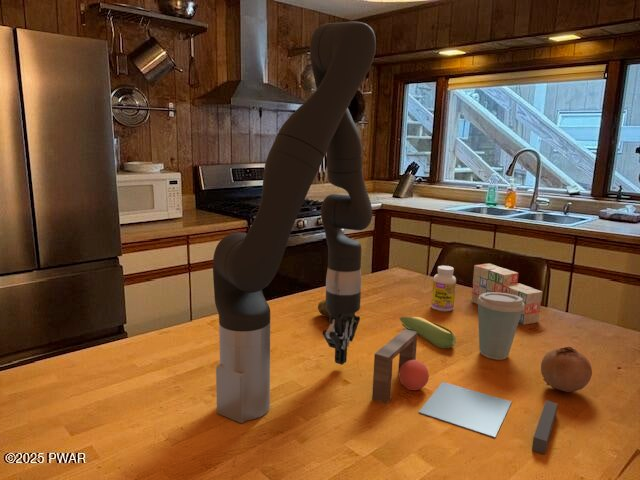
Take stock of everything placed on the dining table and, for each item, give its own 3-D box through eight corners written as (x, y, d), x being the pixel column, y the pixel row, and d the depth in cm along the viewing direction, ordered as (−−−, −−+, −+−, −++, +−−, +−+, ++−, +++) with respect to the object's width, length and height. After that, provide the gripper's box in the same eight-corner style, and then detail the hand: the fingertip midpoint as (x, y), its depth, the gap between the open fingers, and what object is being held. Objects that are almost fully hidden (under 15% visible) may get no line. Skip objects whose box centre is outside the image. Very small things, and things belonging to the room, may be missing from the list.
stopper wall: (544, 454, 82) (546, 441, 81) (531, 450, 83) (533, 437, 82) (555, 415, 94) (557, 403, 93) (544, 412, 95) (546, 400, 94)
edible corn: (445, 354, 119) (446, 336, 118) (394, 325, 136) (395, 309, 135) (461, 350, 121) (462, 333, 120) (409, 322, 139) (410, 307, 138)
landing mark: (495, 438, 86) (495, 437, 86) (418, 412, 93) (418, 411, 93) (511, 402, 98) (511, 401, 98) (442, 382, 105) (442, 381, 105)
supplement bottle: (430, 310, 148) (433, 269, 145) (431, 303, 154) (434, 263, 151) (453, 313, 146) (456, 271, 143) (453, 306, 152) (457, 265, 149)
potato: (343, 312, 145) (344, 286, 143) (357, 329, 132) (358, 300, 131) (315, 314, 142) (316, 287, 141) (327, 331, 130) (328, 302, 129)
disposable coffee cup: (462, 348, 122) (468, 290, 119) (497, 342, 126) (504, 286, 123) (491, 367, 112) (498, 304, 109) (528, 360, 116) (536, 300, 113)
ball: (423, 396, 98) (419, 367, 97) (396, 392, 101) (392, 364, 101) (434, 385, 102) (431, 357, 102) (408, 381, 106) (405, 354, 106)
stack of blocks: (539, 322, 141) (544, 281, 138) (522, 325, 138) (528, 283, 136) (485, 299, 160) (489, 262, 157) (470, 301, 157) (474, 264, 155)
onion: (560, 405, 97) (566, 358, 95) (528, 382, 106) (533, 339, 104) (599, 400, 100) (606, 354, 97) (565, 377, 108) (571, 335, 106)
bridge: (386, 403, 96) (388, 357, 94) (372, 398, 98) (374, 353, 96) (414, 373, 109) (417, 332, 106) (401, 369, 110) (404, 328, 108)
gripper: (343, 299, 98) (340, 379, 102) (372, 283, 109) (369, 356, 113) (311, 292, 102) (310, 369, 106) (343, 277, 113) (340, 348, 117)
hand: (340, 362), depth 109 cm, fingers closed
